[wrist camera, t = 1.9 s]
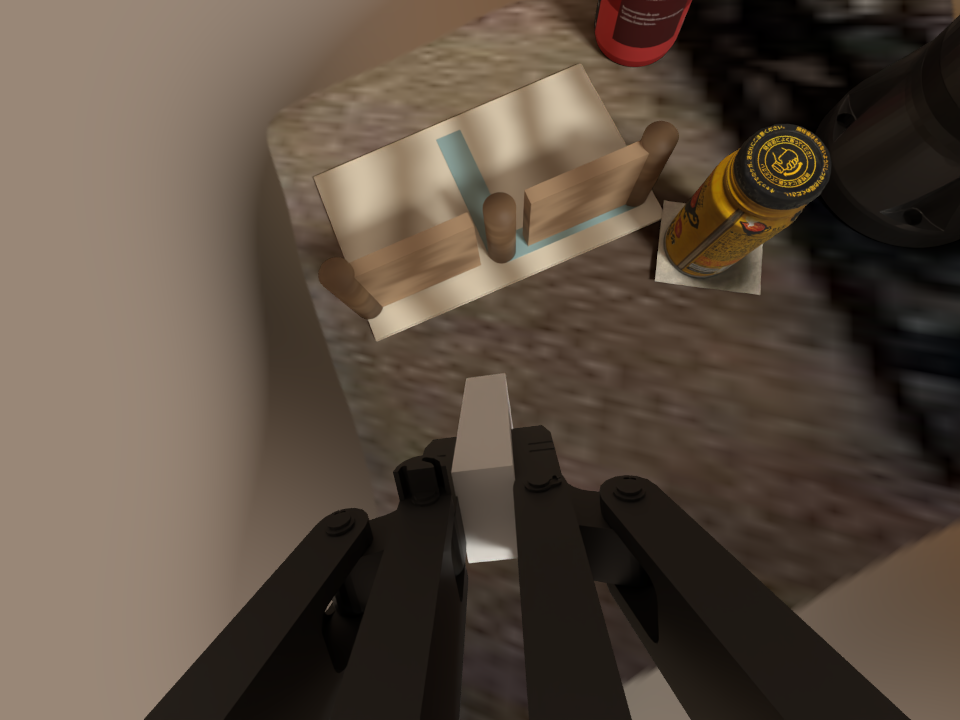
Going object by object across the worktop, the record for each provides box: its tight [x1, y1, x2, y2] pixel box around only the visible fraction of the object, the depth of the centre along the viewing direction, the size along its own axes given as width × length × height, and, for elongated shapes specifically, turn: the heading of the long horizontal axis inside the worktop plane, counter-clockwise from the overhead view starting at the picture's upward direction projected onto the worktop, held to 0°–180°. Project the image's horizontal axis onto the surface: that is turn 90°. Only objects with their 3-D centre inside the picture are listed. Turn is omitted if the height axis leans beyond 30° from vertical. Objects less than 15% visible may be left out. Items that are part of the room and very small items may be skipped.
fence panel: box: [318, 212, 481, 319], centre depth 35 cm, size 11×2×8 cm, turn 113°
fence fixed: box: [482, 121, 679, 264], centre depth 35 cm, size 15×2×8 cm, turn 113°
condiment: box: [655, 124, 832, 295], centre depth 32 cm, size 7×8×12 cm
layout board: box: [314, 63, 663, 341], centre depth 40 cm, size 27×17×1 cm, turn 113°
